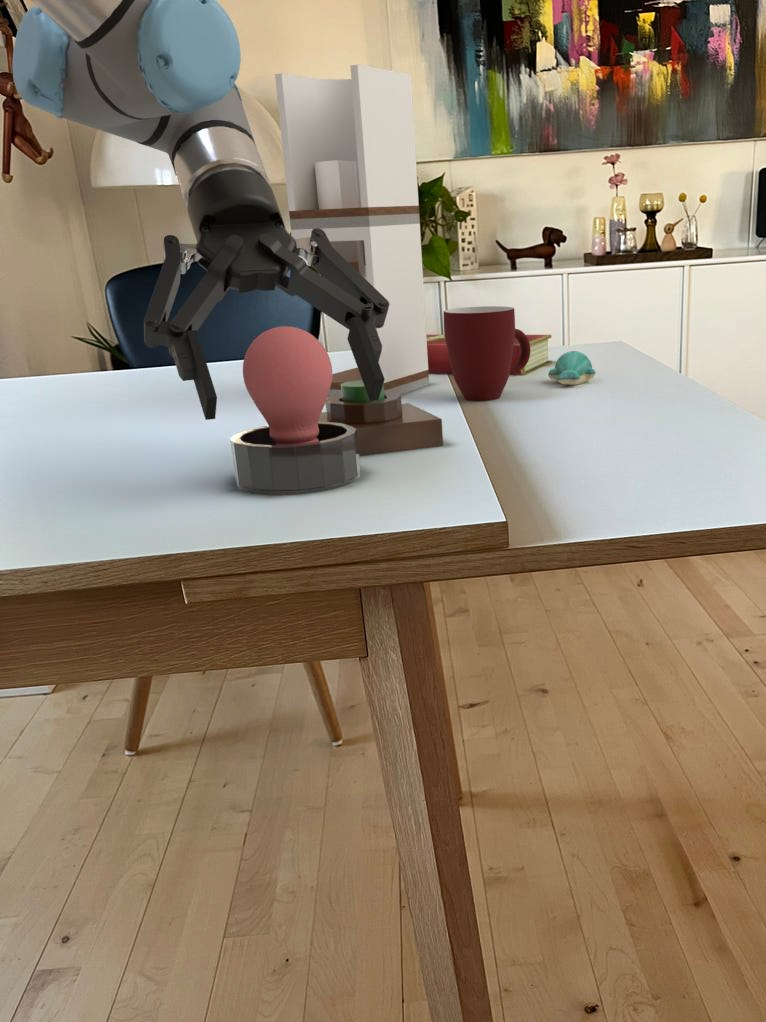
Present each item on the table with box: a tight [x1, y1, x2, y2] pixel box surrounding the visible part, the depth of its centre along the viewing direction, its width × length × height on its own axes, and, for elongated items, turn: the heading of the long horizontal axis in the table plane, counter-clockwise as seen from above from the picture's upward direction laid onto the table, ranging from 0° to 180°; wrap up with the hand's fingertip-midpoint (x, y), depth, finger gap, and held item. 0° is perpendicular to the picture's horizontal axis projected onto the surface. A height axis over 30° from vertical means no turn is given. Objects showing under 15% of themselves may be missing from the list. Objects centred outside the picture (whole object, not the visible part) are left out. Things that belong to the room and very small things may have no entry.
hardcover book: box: [426, 333, 553, 376], centre depth 144 cm, size 12×21×4 cm, turn 69°
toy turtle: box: [547, 350, 597, 386], centre depth 128 cm, size 6×7×4 cm
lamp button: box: [341, 380, 385, 402], centre depth 98 cm, size 4×4×2 cm
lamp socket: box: [229, 422, 361, 496], centre depth 87 cm, size 10×10×4 cm
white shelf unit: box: [274, 64, 430, 399], centre depth 123 cm, size 11×11×35 cm
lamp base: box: [318, 392, 444, 457], centre depth 99 cm, size 12×10×4 cm
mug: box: [443, 305, 530, 402], centre depth 120 cm, size 10×8×10 cm
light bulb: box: [242, 325, 333, 445], centre depth 85 cm, size 7×7×12 cm
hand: (297, 399), depth 83 cm, fingers open, 13 cm apart
